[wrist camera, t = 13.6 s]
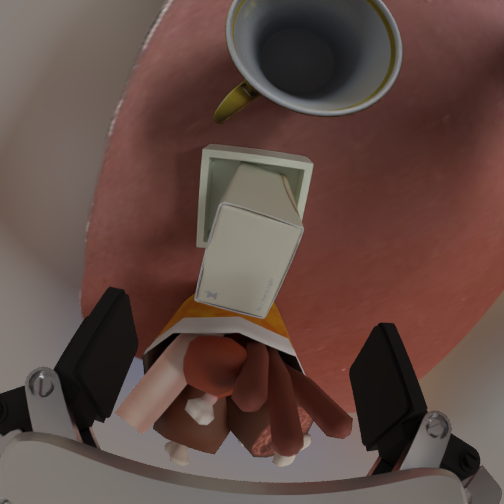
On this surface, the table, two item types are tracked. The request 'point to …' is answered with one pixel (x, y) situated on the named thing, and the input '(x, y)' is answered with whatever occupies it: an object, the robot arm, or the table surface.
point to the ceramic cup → (312, 55)
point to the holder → (224, 166)
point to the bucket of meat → (229, 387)
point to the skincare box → (250, 242)
